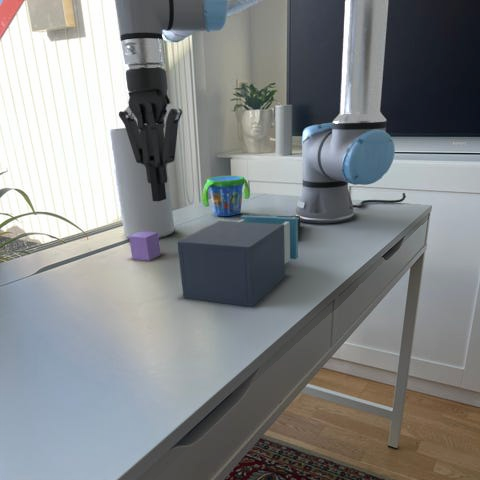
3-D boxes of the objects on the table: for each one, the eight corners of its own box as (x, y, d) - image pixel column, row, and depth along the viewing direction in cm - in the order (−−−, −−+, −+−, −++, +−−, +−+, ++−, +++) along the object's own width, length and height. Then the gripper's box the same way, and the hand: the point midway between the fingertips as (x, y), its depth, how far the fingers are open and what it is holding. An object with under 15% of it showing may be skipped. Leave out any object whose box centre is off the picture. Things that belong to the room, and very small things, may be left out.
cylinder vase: (161, 225, 129) (149, 126, 119) (183, 233, 119) (171, 126, 109) (117, 234, 123) (100, 130, 113) (136, 243, 113) (119, 130, 103)
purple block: (144, 253, 105) (141, 231, 103) (161, 254, 103) (158, 232, 101) (132, 259, 102) (128, 236, 100) (149, 260, 100) (146, 237, 98)
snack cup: (240, 207, 146) (238, 173, 141) (260, 212, 138) (259, 176, 133) (195, 216, 138) (191, 179, 134) (213, 221, 130) (210, 183, 126)
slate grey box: (223, 270, 91) (219, 220, 87) (285, 276, 86) (284, 224, 82) (183, 298, 79) (176, 241, 75) (252, 307, 74) (249, 247, 70)
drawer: (255, 246, 102) (253, 209, 99) (306, 250, 98) (306, 211, 94) (214, 274, 87) (210, 231, 84) (272, 280, 82) (271, 235, 79)
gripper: (102, 70, 86) (121, 202, 96) (164, 64, 81) (177, 204, 91) (128, 71, 92) (143, 195, 102) (186, 66, 87) (196, 197, 97)
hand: (159, 199), depth 96 cm, fingers closed
